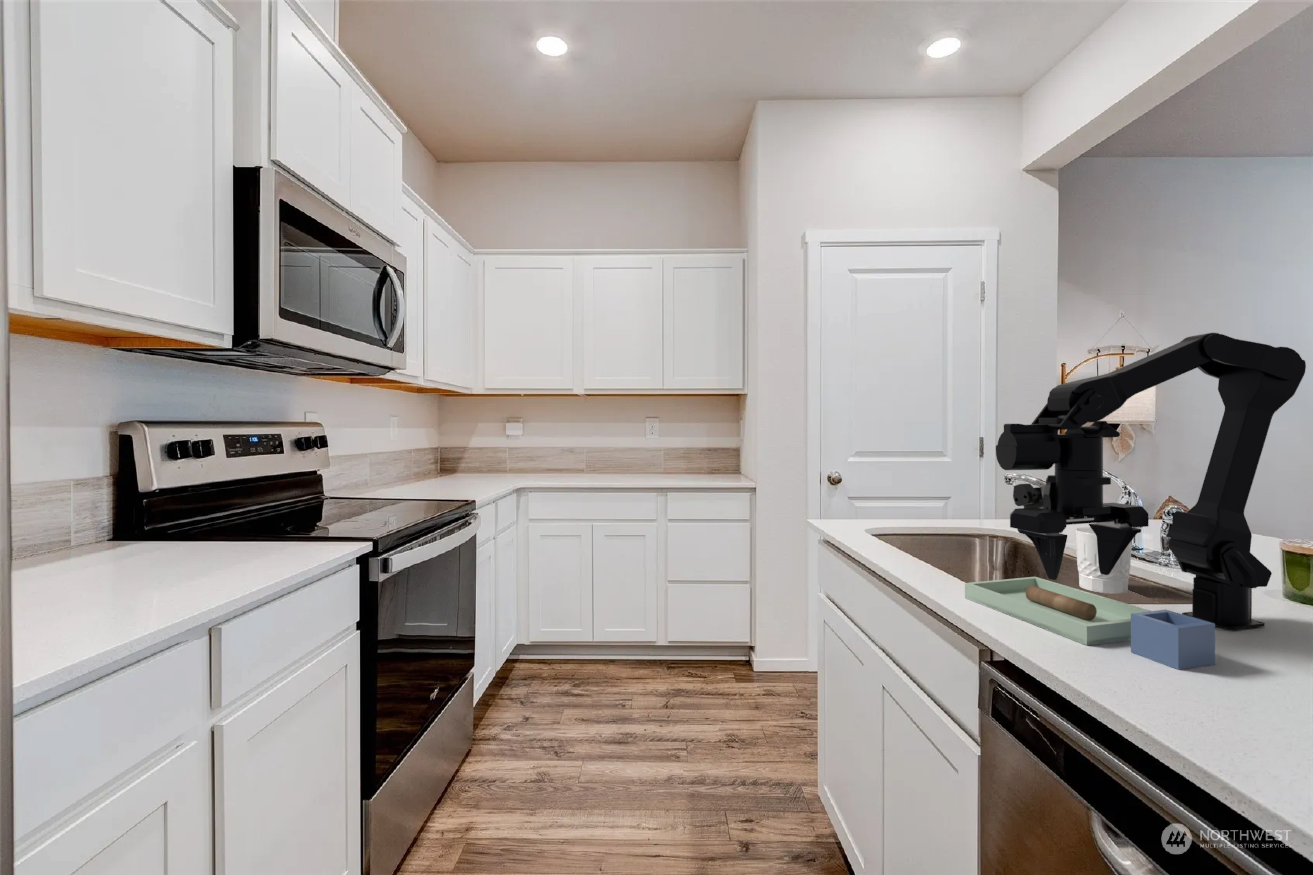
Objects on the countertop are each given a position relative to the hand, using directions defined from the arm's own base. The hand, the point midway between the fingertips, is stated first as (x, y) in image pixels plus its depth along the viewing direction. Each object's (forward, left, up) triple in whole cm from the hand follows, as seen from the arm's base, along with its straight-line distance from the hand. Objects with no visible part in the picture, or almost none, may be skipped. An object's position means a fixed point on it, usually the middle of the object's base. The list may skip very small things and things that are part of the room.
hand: (1078, 576), depth 87 cm
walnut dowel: (0, -4, -5) cm, 6 cm away
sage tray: (0, -4, -7) cm, 7 cm away
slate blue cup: (+1, +13, -7) cm, 15 cm away
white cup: (-19, -13, -7) cm, 24 cm away
